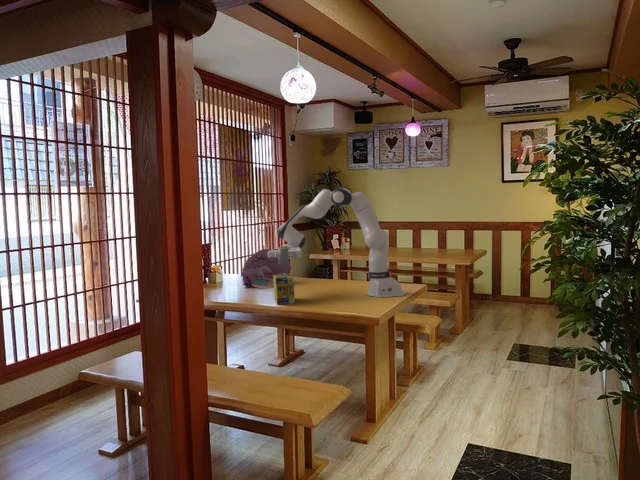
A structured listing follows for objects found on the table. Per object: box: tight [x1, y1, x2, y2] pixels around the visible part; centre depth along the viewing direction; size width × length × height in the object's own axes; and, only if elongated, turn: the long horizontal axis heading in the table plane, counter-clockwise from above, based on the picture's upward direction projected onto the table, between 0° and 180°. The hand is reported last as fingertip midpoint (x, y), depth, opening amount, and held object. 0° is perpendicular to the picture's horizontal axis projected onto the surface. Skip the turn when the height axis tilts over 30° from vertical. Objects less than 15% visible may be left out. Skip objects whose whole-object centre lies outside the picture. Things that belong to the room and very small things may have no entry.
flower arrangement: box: [240, 248, 292, 289], centre depth 348 cm, size 35×24×28 cm
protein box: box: [273, 273, 296, 306], centre depth 291 cm, size 10×15×16 cm
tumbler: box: [276, 246, 290, 265], centre depth 289 cm, size 6×6×10 cm
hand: (282, 255), depth 288 cm, fingers closed on tumbler, 6 cm apart
